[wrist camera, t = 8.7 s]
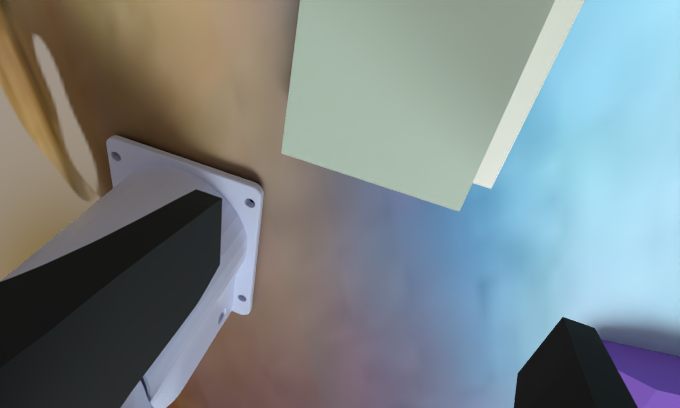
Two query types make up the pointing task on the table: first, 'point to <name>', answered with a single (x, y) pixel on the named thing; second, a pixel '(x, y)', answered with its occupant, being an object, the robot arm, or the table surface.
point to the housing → (406, 88)
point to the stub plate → (528, 88)
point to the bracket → (648, 375)
